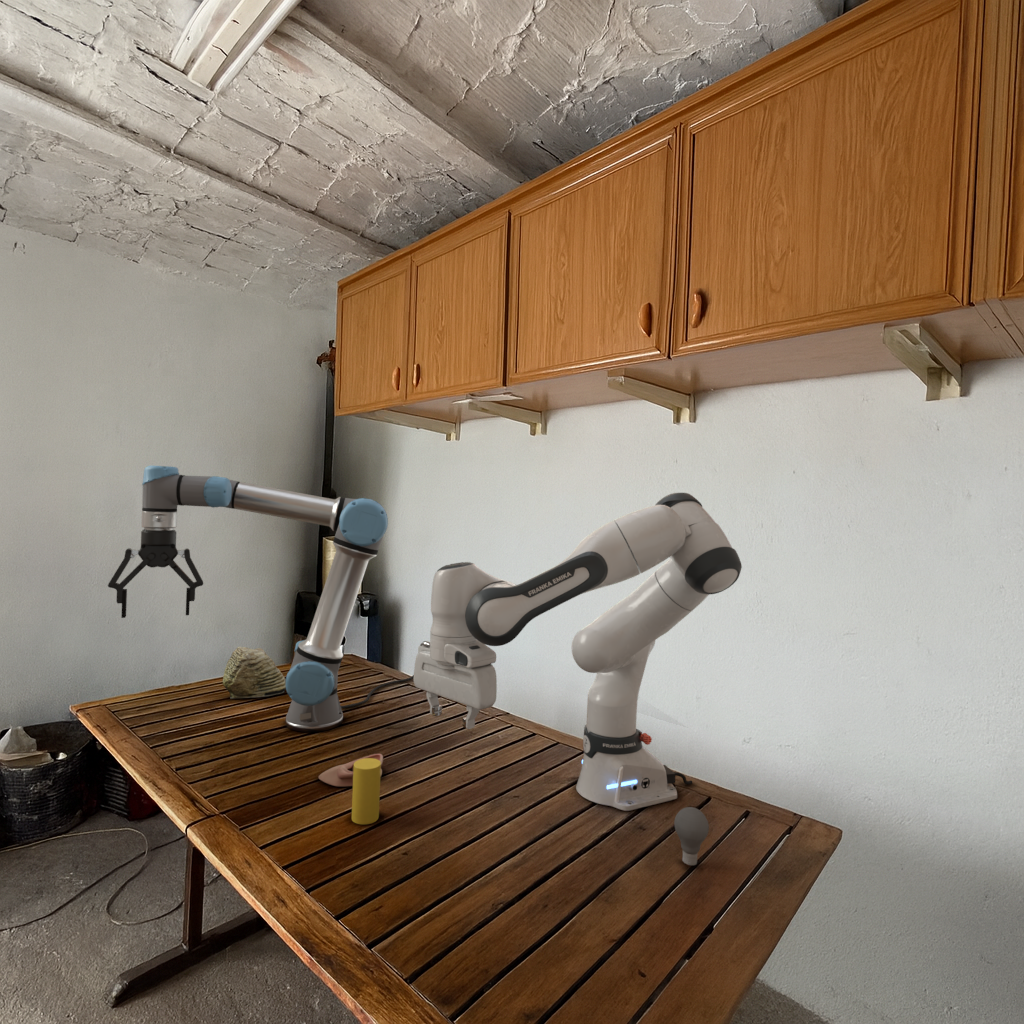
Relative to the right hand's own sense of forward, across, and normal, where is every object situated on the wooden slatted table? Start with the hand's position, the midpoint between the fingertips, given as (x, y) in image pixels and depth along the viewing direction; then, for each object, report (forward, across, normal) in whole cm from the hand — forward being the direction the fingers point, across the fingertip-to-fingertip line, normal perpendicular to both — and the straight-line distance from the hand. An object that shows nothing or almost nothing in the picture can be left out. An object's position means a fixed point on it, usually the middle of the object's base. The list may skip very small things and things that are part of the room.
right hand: (451, 721), depth 120 cm
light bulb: (+23, +36, +26) cm, 50 cm away
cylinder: (+22, -17, -8) cm, 28 cm away
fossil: (+20, -104, +9) cm, 106 cm away
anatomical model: (+21, -34, 0) cm, 40 cm away
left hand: (-12, -80, -27) cm, 85 cm away
